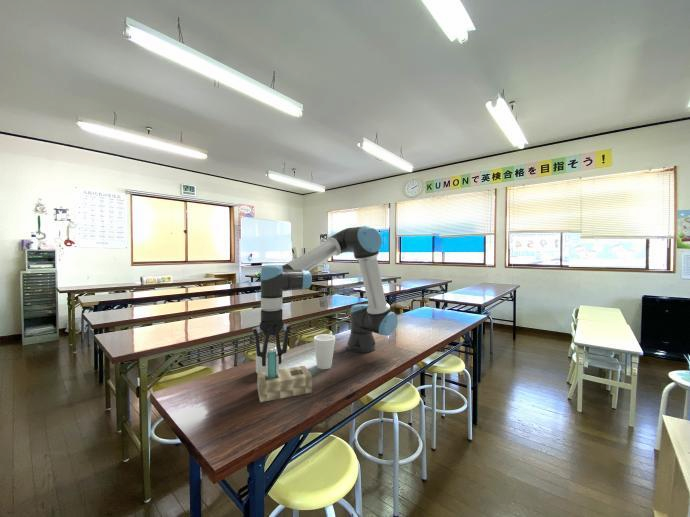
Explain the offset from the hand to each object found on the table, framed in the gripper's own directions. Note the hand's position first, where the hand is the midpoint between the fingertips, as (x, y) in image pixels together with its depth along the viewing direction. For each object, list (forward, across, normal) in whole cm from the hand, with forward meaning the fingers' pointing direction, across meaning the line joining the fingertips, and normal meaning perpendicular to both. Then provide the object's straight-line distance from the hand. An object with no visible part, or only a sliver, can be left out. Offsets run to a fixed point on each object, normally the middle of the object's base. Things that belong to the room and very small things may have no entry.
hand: (271, 373), depth 101 cm
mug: (+7, -2, -18) cm, 20 cm away
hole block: (+7, -4, 0) cm, 8 cm away
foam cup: (+7, -25, -16) cm, 30 cm away
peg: (+4, 0, 0) cm, 4 cm away
